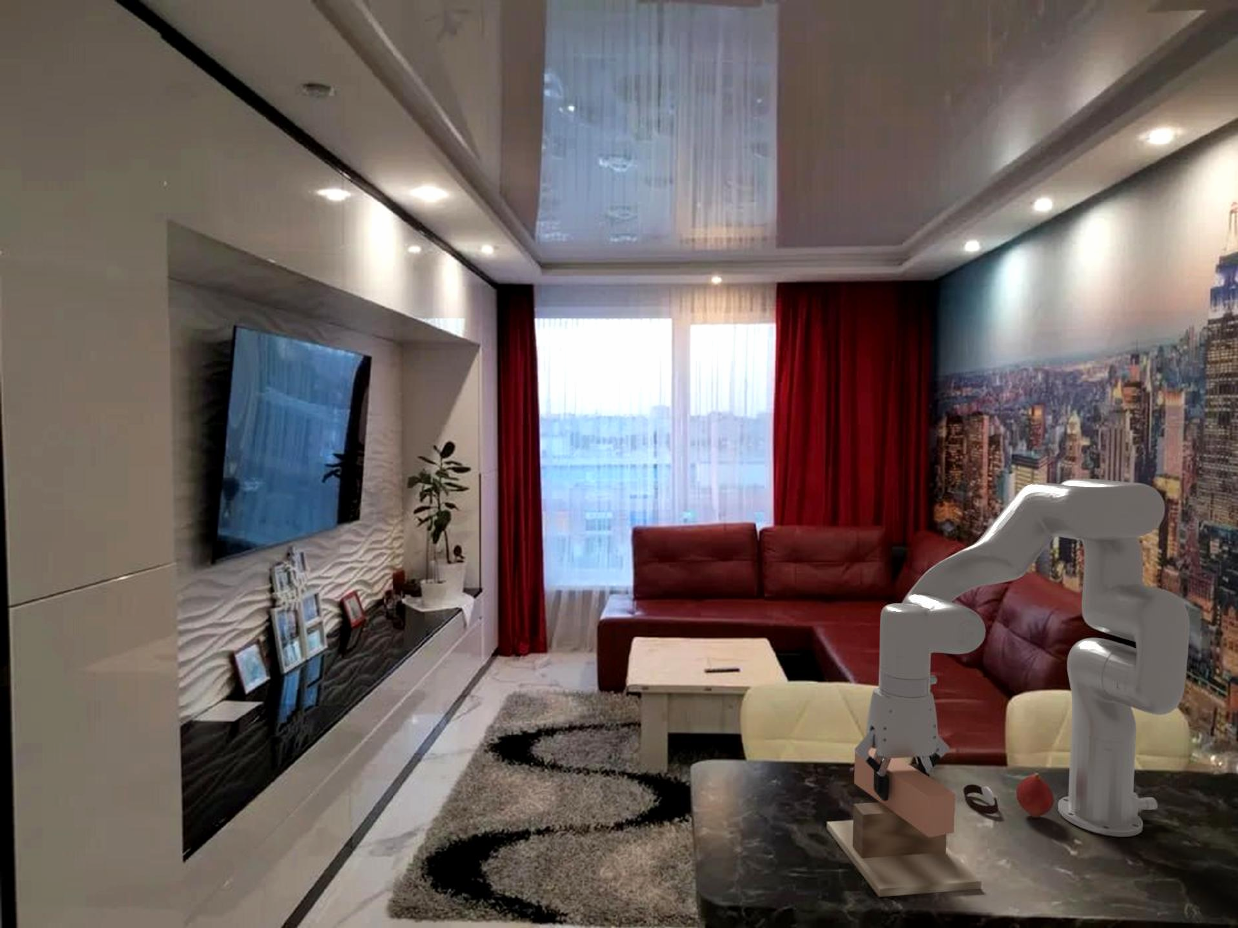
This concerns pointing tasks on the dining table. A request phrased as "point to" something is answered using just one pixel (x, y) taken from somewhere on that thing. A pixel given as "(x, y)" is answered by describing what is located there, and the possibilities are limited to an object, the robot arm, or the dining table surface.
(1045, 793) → the onion
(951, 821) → the beam
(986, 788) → the watch
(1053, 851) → the dining table surface
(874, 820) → the stand
